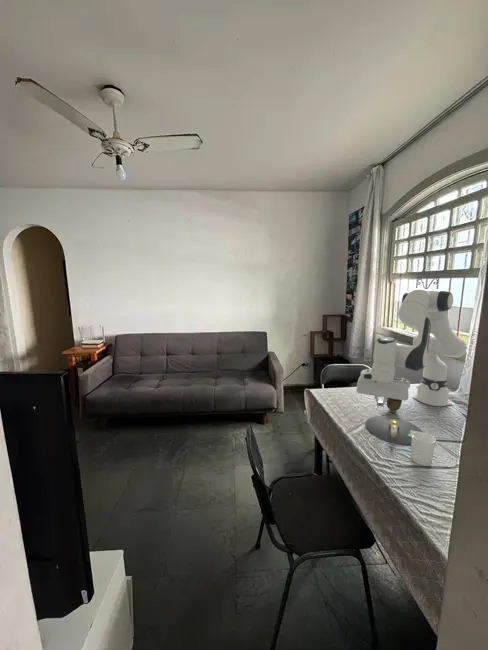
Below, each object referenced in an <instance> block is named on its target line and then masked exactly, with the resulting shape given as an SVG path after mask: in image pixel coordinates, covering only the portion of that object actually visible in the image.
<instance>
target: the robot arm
mask: <svg viewBox="0 0 488 650" xmlns="http://www.w3.org/2000/svg"><path fill="white" fill-rule="evenodd" d="M453 295H454V294H453V293H452V292H451V291H449V290H445V289H427V288H426V289H424V288H421V287H420V288H419V287H418V288H413V289H411V290H409V291H406V292H404V293H403V295H402V298H401V304H400V306H399V309H398V312H397V313H398V314H397V315H398V319H399V321H400V322H401V323H402V324H403V325H404V326H406V327H408V328H411V329H412V330H414V331H416V332H417V334H416V335H415V336H414V337H413V339H412V345H407V344H403V343H398V342H397V340H396V339H395V338H393V337H389V336H382V337H379V338H377V339H376V341H375V344H374V349H373V354H372V359H373V364H372V366H371V368H366V369H362V370H361V371H360V376H359V377H358V380H357V383H356V388H355V389H356V390H355V391H356V393H357V394H362V395H368V396H374V400H375V402H376V406H377V407H382V408H384V407H385V404H386V403H387V402H386V401H387V400H388V398H392V399H398V400H402V401H404V402H405V401H407V400H408V399H409V389H410V388H411V381H410V380H409V379H407V378H406V377H400V376H396V366H397V367H401V368H405V369H408V370H411V371H414V372H417V371H421V370H423V371H422V372H423V373H422V376H421V383H419V384H417V385H416V390H415V392H414V394H413V395H412V399H415V400H417V401H419V402H420V403H423V404H425V405H429V406H434V407H445V406H452V404H453V403H452V402H451V401H450V400H449V396H450V390H449V389H448V388H447V384H448V379H447V375H448V366H447V363H445V362H444V361H443V360H441V358H440V357H439V356H443V357H448V358H460V357H463V356H464V355H465V354H466V351H467V350H468V346H467V343H466V341H464V340H463V339H461V338H460V337H459V336H458V335H457V334H455V332H454V331H453V330H452V328H451V325H450V321H449V313H448V311H449V310H451V308H452V307H453V304H454V296H453ZM379 397H380V398H383V400H379Z"/></svg>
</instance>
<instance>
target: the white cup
mask: <svg viewBox="0 0 488 650" xmlns="http://www.w3.org/2000/svg"><path fill="white" fill-rule="evenodd" d="M436 440H437V439H436V437H434V436H433V435H431V434H430V433H426V432H425V431H422V432H413V433H412V438H411V445H410V458H411V459H410V460H411V461H413V462H414V463H416V464H417V465H420V466H424V467H428V466H429V467H430V466H431V464H432V461H433V457H434V454H435V453H434V452H435V448H436V442H437V441H436Z"/></svg>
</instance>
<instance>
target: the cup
mask: <svg viewBox="0 0 488 650" xmlns="http://www.w3.org/2000/svg"><path fill="white" fill-rule="evenodd" d="M402 401H403V400H398V399H392V398H388V400H387V401H386V402H385V403H386V406H387V408H388V410H389V412H390V413H392V414H396V413H397V412H398V411H399V410H400V409H401V406H402Z"/></svg>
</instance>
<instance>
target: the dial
mask: <svg viewBox="0 0 488 650" xmlns="http://www.w3.org/2000/svg"><path fill="white" fill-rule="evenodd" d="M390 419H394V420H397V421H399V422H400V427H399V430H397V437H396V441H393V440H391V439H390V433H391V429H390V428H389V420H390ZM365 427H366V429H367V430H368V431H369V433H371V435H373V436H375V437H376V438H378V439H381V440H384V441H386V442H389V443H391V444H397V445H404V446H411V438H412V433H413V432H423V430H422V429H421V428H419V427H418V426H417V425H415V424H413V423H412V422H410V421H407V420H404V419H403V418H398V417H393V416H389V415H388V416H387V415H376V416H371V417H369V418H368V419H367V420H366V421H365Z"/></svg>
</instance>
